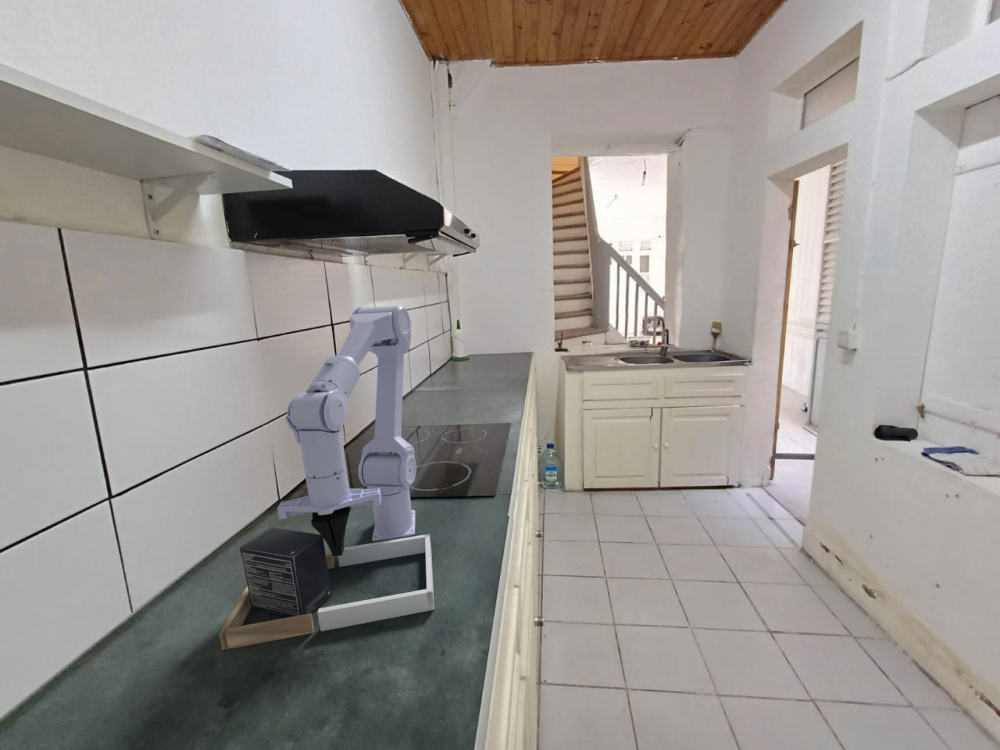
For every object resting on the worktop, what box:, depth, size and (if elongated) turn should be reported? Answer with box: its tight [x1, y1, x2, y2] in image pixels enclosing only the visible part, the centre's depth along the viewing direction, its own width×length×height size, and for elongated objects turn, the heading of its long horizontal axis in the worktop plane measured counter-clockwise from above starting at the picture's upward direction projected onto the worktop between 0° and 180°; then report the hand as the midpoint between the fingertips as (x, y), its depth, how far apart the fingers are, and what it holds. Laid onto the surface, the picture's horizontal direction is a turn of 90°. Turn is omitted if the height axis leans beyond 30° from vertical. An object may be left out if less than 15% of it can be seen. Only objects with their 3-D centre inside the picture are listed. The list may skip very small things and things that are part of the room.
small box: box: [239, 527, 332, 618], centre depth 65 cm, size 11×6×10 cm, turn 71°
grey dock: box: [317, 533, 435, 632], centre depth 68 cm, size 16×16×3 cm
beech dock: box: [218, 552, 335, 651], centre depth 65 cm, size 16×12×2 cm
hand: (338, 552), depth 66 cm, fingers closed
